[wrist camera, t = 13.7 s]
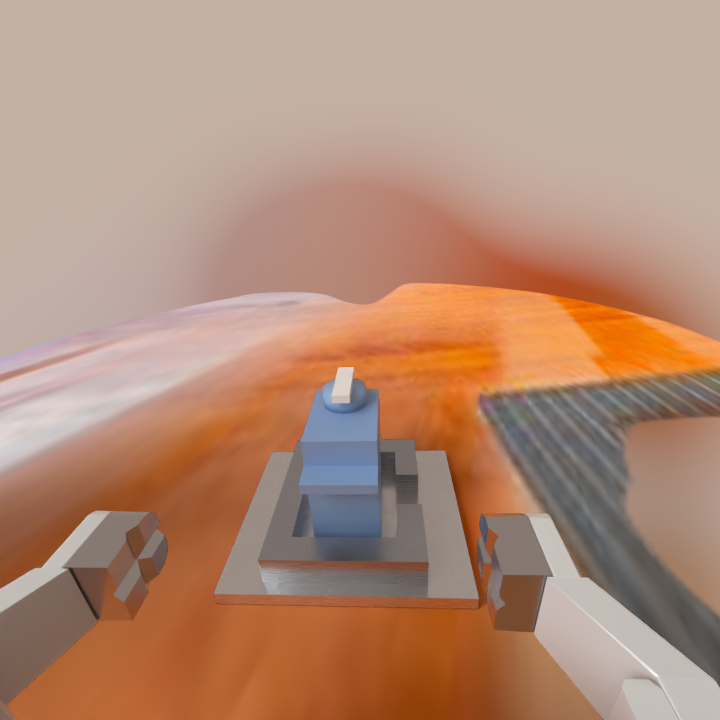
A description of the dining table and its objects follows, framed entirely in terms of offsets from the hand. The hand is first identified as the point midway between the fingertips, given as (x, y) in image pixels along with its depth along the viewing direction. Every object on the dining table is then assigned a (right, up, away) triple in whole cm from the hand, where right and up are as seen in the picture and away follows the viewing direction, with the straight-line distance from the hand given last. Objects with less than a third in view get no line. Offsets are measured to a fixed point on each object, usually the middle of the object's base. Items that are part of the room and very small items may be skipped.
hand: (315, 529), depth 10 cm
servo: (+1, -6, +16) cm, 17 cm away
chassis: (+1, -6, +16) cm, 18 cm away
